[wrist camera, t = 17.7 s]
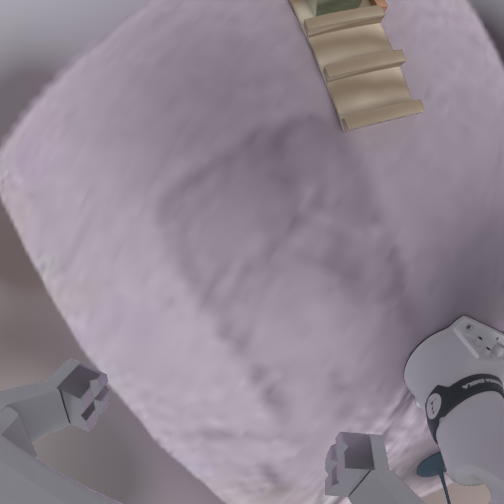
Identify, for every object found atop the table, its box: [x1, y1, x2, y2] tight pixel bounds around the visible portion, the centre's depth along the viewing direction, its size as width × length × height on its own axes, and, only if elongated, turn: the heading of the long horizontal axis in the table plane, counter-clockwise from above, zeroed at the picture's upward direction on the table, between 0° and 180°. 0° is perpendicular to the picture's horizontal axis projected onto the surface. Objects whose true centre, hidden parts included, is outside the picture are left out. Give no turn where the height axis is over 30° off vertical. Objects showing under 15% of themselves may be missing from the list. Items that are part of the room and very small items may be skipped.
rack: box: [289, 0, 425, 132], centre depth 31 cm, size 21×11×4 cm, turn 20°
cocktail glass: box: [417, 452, 451, 504], centre depth 41 cm, size 18×18×25 cm
